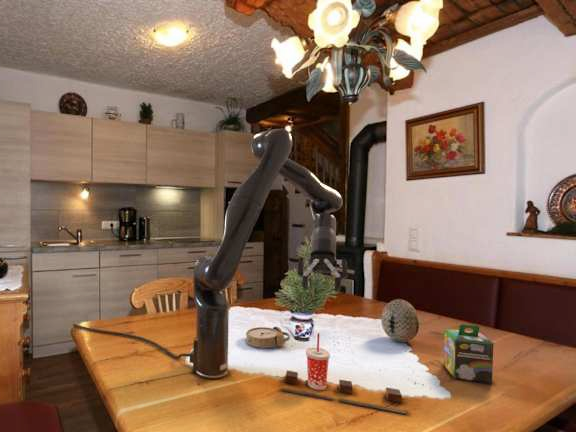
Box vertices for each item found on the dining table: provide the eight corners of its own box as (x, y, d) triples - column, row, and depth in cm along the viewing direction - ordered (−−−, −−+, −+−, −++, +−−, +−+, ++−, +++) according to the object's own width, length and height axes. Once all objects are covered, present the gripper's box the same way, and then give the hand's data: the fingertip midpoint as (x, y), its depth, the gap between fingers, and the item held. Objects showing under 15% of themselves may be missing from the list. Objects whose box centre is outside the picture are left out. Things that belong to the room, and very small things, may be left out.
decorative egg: (424, 342, 125) (426, 301, 125) (408, 350, 119) (410, 305, 118) (390, 332, 135) (392, 293, 135) (374, 338, 128) (375, 298, 128)
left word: (281, 391, 91) (281, 383, 91) (284, 377, 98) (284, 370, 98) (331, 400, 87) (332, 392, 87) (330, 385, 94) (331, 377, 94)
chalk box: (478, 370, 105) (480, 320, 104) (493, 384, 96) (495, 330, 96) (442, 365, 108) (443, 317, 107) (453, 378, 99) (455, 326, 99)
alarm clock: (244, 327, 129) (285, 322, 128) (246, 341, 129) (287, 335, 128) (246, 339, 118) (291, 333, 117) (248, 353, 118) (293, 347, 117)
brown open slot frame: (340, 402, 86) (340, 394, 86) (338, 386, 94) (339, 379, 94) (406, 414, 81) (406, 406, 81) (399, 397, 89) (399, 389, 89)
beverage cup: (326, 393, 90) (328, 339, 89) (302, 387, 93) (303, 334, 93) (331, 383, 95) (332, 332, 95) (308, 377, 98) (309, 328, 98)
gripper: (298, 237, 114) (294, 283, 105) (346, 237, 107) (345, 286, 98) (302, 249, 119) (298, 294, 110) (348, 249, 112) (348, 297, 104)
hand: (320, 290), depth 104 cm, fingers open, 8 cm apart
